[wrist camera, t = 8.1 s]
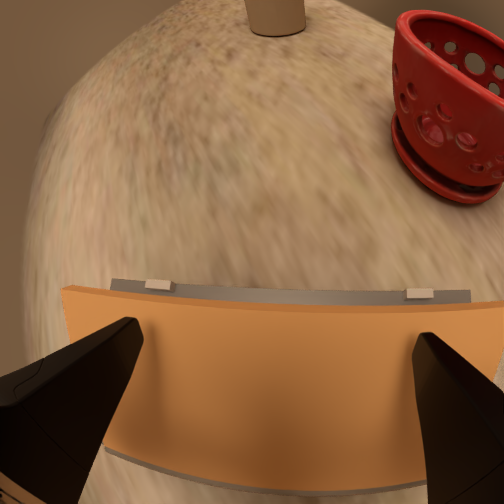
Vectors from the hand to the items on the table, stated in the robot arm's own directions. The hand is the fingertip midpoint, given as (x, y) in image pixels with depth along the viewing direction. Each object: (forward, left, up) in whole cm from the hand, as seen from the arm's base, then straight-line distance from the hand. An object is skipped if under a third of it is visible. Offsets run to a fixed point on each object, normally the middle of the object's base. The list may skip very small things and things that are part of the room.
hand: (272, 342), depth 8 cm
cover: (-3, -1, -4) cm, 5 cm away
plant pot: (+20, -7, -10) cm, 23 cm away
